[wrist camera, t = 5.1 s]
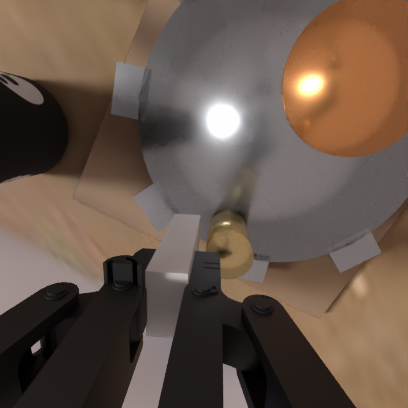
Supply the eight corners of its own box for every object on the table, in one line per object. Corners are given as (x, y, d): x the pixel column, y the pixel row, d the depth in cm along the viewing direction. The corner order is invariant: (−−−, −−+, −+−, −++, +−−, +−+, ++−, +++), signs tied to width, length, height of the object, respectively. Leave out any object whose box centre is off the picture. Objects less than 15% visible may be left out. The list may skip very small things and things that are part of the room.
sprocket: (212, -147, 14) (207, -345, 8) (523, 47, 15) (706, -1, 10) (81, 190, 19) (21, 217, 13) (322, 310, 21) (362, 380, 15)
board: (214, -153, 15) (213, -177, 14) (520, 39, 16) (543, 33, 15) (79, 195, 21) (71, 199, 19) (314, 311, 22) (320, 321, 21)
